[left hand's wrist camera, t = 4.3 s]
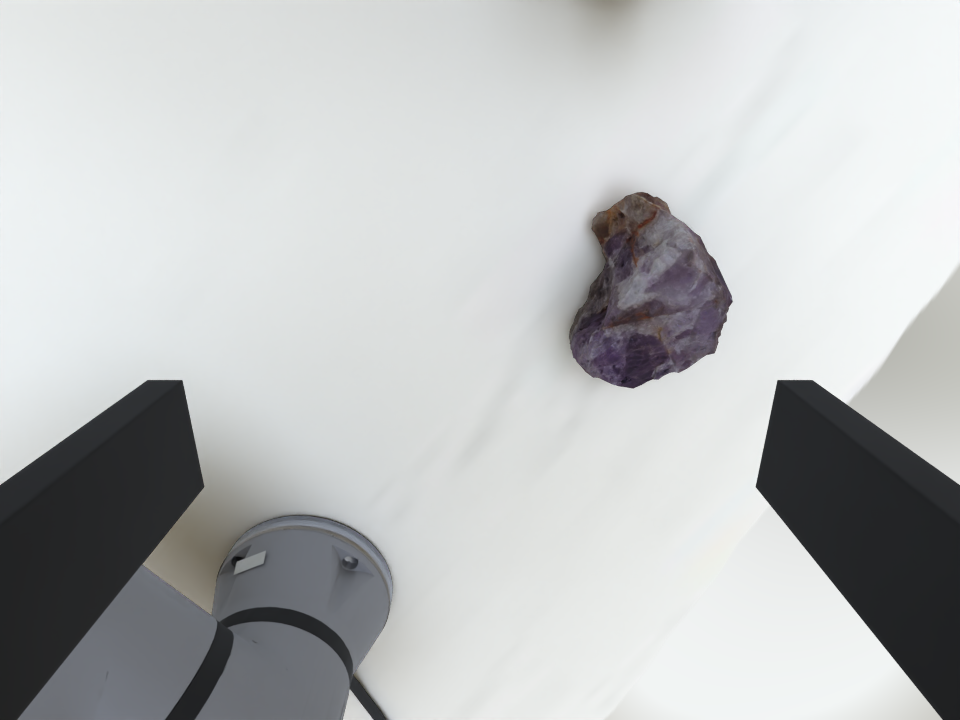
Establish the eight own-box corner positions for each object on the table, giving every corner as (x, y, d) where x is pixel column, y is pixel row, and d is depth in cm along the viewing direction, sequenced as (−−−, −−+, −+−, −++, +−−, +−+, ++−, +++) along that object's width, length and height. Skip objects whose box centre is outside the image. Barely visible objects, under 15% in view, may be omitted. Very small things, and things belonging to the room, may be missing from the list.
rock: (545, 321, 44) (664, 361, 45) (548, 377, 36) (691, 424, 37) (609, 174, 38) (744, 223, 39) (629, 205, 31) (794, 265, 32)
